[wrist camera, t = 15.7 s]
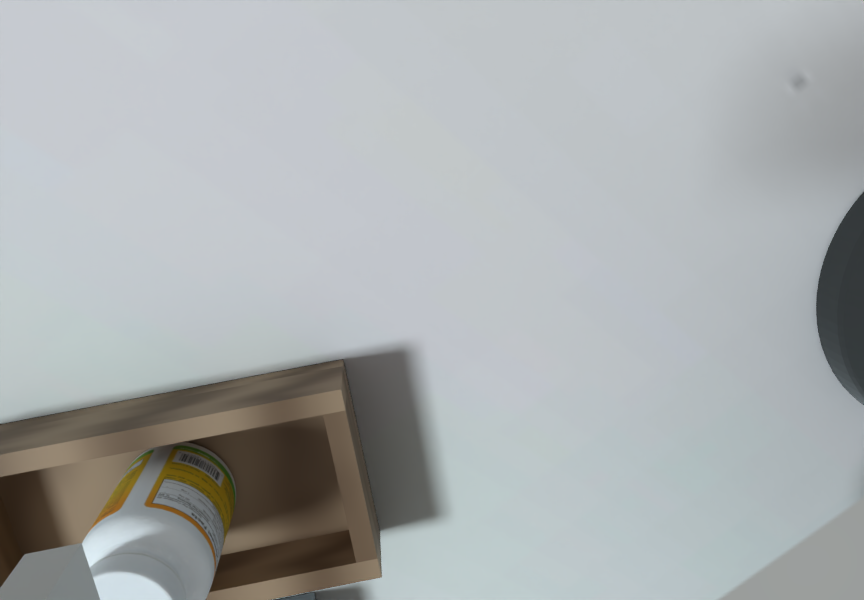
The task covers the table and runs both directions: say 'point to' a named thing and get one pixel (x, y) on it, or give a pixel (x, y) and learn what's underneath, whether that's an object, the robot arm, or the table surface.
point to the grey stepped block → (301, 597)
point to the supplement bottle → (163, 526)
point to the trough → (244, 456)
